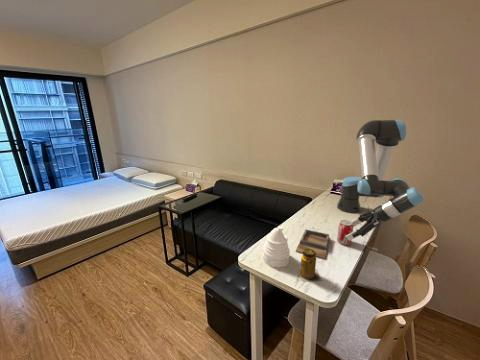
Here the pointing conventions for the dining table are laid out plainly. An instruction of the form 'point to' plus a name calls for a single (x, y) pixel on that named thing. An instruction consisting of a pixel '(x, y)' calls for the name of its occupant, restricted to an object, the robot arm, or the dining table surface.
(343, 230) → the soda can
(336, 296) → the dining table surface
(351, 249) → the dining table surface
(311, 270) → the condiment
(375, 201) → the dining table surface
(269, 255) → the honey pot
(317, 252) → the board
